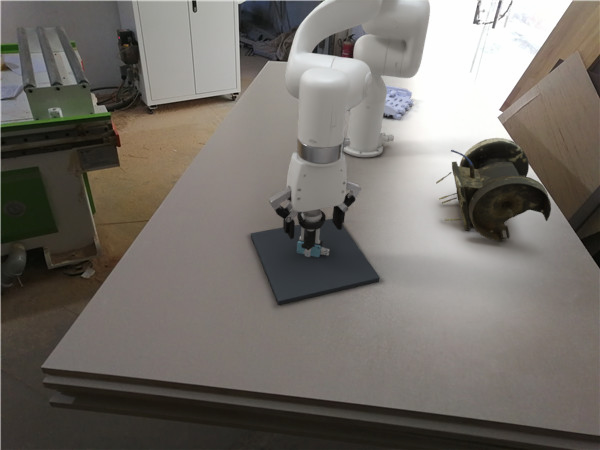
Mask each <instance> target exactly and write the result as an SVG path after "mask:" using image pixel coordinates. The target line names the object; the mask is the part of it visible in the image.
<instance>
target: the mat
mask: <svg viewBox="0 0 600 450" xmlns="http://www.w3.org/2000/svg"><path fill="white" fill-rule="evenodd" d="M301 227H302V226H301V225H300V224H295V228H294V238H293V239H290V238H289V236H288V234H287V233H285V232H284V229H283V227H278V228H272V229H267V230H261V231H256V232H251V233H250V238H251V240H252V243H253V245H254V248H255V250H256V253H257V255H258V258H259V261H260V263H261V265H262V268H263V270H264V273H265V276H266V278H267V280H268V283H269V285H270V288H271V290H272V293H273V295H274V298H275V300H276V302H277V305H278V306H280V305H285V304H289V303H292V302H297V301H302V300H306V299H310V298H314V297H319V296H322V295H326V294H327V295H328V294H331V293H335V292H339V291H344V290H348V289H352V288H357V287H360V286H365V285H369V284H373V283H378V282H380V280H381V278H380V276H379V274H378V272H377V271H376V270H375V269H374V267H373V266H372V264H371V263H370V261H369V260H368V259H367V257H366V256H365V254H364V253H363V251H362V250H361V248H360V247H359V246H358V244H357V243H356V242H355V240H354V239H353V237H352V236H351V235H350V234H349V232H348V230H347V229H346V228H345V226H344V225H343V224H342V229H341V230H338V229H337V228H336V226H335V225H334V223H333V222H332V218H328V219H326V220H325V222H324V224H323V226H322V227H321V228H320V235H319V240H321V241H322V242H323V243H322V247H324V248H326V249H330V250H329V252H328V253H329V255H324V254H323V255H321V254H320V256H319V257H315V256H310V257H307V256H305V254H301V253H297V243H298V240H299V238H300V236H301ZM305 232H306V229H305ZM315 232H316V231H315ZM326 251H327V250H326ZM326 251H324V252H326ZM325 254H327V253H325Z"/></svg>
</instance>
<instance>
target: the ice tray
mask: <svg viewBox="0 0 600 450" xmlns="http://www.w3.org/2000/svg"><path fill="white" fill-rule="evenodd" d="M385 85H386V89H387V97H386V102H385V108H384V117H386V116H387V117H389V116H392V119H395V120H398V121H400V120H401V118H402V116H404V115H405V114H406V112H407V111H409V109H410V107H412V106H413V104H414V100H413V98H412V95H413V92H412V91H410V90H409V89H408V88H403V87H399V86H393V85H387V84H385Z"/></svg>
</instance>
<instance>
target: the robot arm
mask: <svg viewBox="0 0 600 450" xmlns="http://www.w3.org/2000/svg"><path fill="white" fill-rule="evenodd" d="M430 17H431V5H430V1H429V0H323V1H322V2H320V3H319V4H318V5H317V6H315V8H314V9H313V10H312V11H310V13H308V15H307V16H306V17H304V19H303V20H302V21H301V23H300V24H299V26H298V28H297V29H296V31H295V35H294V36H293V40H292V43H291V48H290V50H289V54H288V59H287V63H286V67H285V73H284V74H285V75H284V84H285V88H286V91H287V92H288V93H289V95H290V96H292V97H293V98H295V99H297V100H298V115H297V116H298V117H297V118H298V119H297V142H296V143H297V146H296V148H297V149H296V151H294V152H292V154H291V157H290V160H289V165H288V171H287V177H286V186H285V188H284V189H282V190H281V191H279V192H277V193H276V194H274V195H273V196H271V197H269V199H268V203H269V205H270V206H271V207H272V209H273V210H274V212H275V213H276V215H277V216H279V217H280V218H282V219H283V223H282V228H283V229H284V232H285V233H287V234H288V236H289V238H290V239H293V238H294V228H295V225H296V223H295V220H294V218H295V217H296V216H297V215H298V212H304V211H311V210H317V209H320V210H321V209H322V210H323V209H327V208H333V209H332V210H333V211H332V218H331V219H332V222H333V223H334V225H335V226H336V228H337V229H338V230H341V229H342V225H343V224H344V223H345V217H346V213H347V212H348V211H349V210H350V209H349V207H350V206H352V205H353V204H354V202H356V200H357V199H356V198H357V197H358V195H360V192H361V191H362V188H361V186H360V185H359V184H358V183H355V182H352V181H350V180H347V162H346V161H347V160H346V155H345V154H344V153H346V154H347V155H350V156H353V157H357V158H375V157H378V156H379V155H381V154H382V153H383V151H384V145H383V144H385V143H390V142H393V141H394V140H395V137H394V135H393V134H386V132H381V131H382V127H383V126H382V125H383V119H384V115H385V113H384V108H385V102H386V97H387V89H386V85H387V84H386V82H385V81H384V78H383V77H391V78H400V79H411V78H413V77H415V76H416V75H417V73H418V72H419V69H420V67H421V64H422V60H423V55H424V49H425V43H426V39H427V34H428V28H429V23H430ZM358 26H361V28H362V30H363V31H364V32H365V33H366V34H364V35H362V36H360V37H359V38H357V40H356V41H355V43H354V47H353V55H352V58H350V57H342V56H337V55H330V54H323V53H316V52H313V51H314V49H316V47H317V46H318V45H319V44H320V43H321V42H322V41H324V40H325V39H327V38H328V37H330V36H332V35H335V34H338V33H340V32H344V31H347V30H350V29H352V28H355V27H358ZM348 111H349V116H348V124H347V132H346V122H347V114H348ZM345 132H346V133H347V134H346V133H345ZM345 134H346V137H345ZM347 190H348V193H346V192H347ZM285 201H287V203H286V204H285V205H284V206H282V205H281V204H282V203H283V202H285Z"/></svg>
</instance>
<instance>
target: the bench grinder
mask: <svg viewBox="0 0 600 450" xmlns="http://www.w3.org/2000/svg"><path fill="white" fill-rule="evenodd" d="M450 152H451V153H455V154H457V155H459V156H462V157H461V160H460V163H459V165H458V161H451V170H452V171H450V172H449V173H448V174H446V175H445V176H444V177H442V178H440V179H438V180H437V181H436V185H437V184H439V183H440V182H442V181H443V180H444V179H445V178H447V177H448V176H449V175H451V174H452V175H453V177H454V183H455V184H454V185H455V188H456V189H455V190H456V192H455V193H452V194H448V195H445V196H441V197H438V200H444V199H446V198H448V197H451V196H455V195H456V197H454V198H450V199H446V200H444V201H441V204H445V203H448V202H451V201H453V200H456V199H457V201H458V205H459V209H460V214H461V218H444V221H448V222H452V221H462V223H463V226H464V230H465V231H468V230H471V224H472V226H473V229H474V230H475V231H476V232H477V233H478V234H479V235H481V236H482V237H484V238H485V239H487V240H491V241H495V242H500V243H501V242H503V240H509V239H510V231H509V226H507V225H505V223H507V222H508V221H509V220H510V219H512V218H515V217H517V216H519V215H522V214H523V213H526V212H527V211H533V212H536V213H541V214H542V215H543V218H544V220H545V222H548V220H549V219H550V215H551V211H552V203H551V200H550V198H549V194H548V191H547V190H546V187H545V186H543V184H542V183H540V181H538V180H536V179H535V178H532V177H530V176H528V173H529V169H530V163H529V158H528V156H527V155H526V153H525V151H524V150H523V148H521V146H520V145H519V144H518V143H516V142H515V141H513V140H511V139H507V138H504V137H492V138H485V139H484V140H481V141H479V142H477V143H475V144H474V145H472V146H471V147H470V148H469V149H467V150H466V151H465V153H461V152H459V151H456V150H454V149H451V150H450ZM504 231H505V236H506V237H505V236H504Z"/></svg>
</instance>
